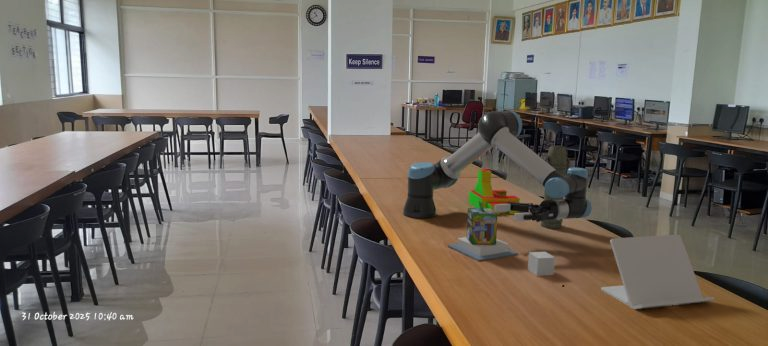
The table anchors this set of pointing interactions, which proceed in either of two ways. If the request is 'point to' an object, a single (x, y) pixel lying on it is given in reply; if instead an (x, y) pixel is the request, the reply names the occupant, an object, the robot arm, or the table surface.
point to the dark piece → (558, 162)
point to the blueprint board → (481, 258)
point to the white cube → (541, 263)
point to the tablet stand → (654, 272)
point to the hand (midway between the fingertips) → (504, 212)
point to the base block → (482, 247)
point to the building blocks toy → (489, 193)
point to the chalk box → (482, 225)
